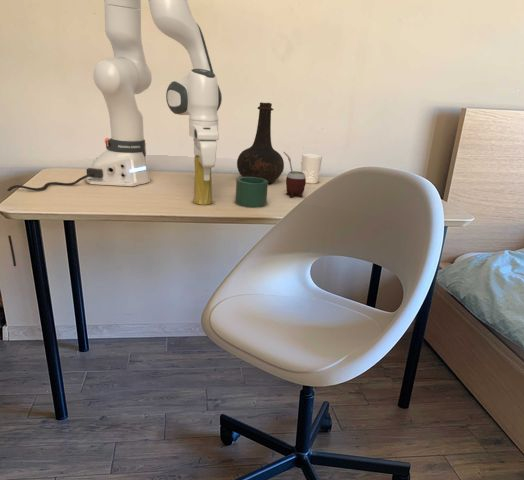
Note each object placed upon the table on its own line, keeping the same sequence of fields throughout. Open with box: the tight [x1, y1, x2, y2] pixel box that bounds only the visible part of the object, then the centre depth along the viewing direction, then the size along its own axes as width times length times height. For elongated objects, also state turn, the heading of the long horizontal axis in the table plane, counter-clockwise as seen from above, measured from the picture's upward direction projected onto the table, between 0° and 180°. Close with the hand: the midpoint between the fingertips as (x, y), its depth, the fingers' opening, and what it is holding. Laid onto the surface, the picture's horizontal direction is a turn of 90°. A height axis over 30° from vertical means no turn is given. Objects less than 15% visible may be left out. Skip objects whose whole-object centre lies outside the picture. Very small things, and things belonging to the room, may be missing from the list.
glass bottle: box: [236, 102, 285, 185], centre depth 192 cm, size 18×18×28 cm
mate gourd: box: [283, 151, 307, 199], centre depth 178 cm, size 8×8×15 cm
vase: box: [192, 155, 213, 206], centre depth 163 cm, size 6×6×14 cm
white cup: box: [300, 153, 323, 185], centre depth 202 cm, size 8×8×10 cm
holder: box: [235, 176, 269, 208], centre depth 168 cm, size 10×10×8 cm
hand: (204, 176), depth 162 cm, fingers open, 8 cm apart
